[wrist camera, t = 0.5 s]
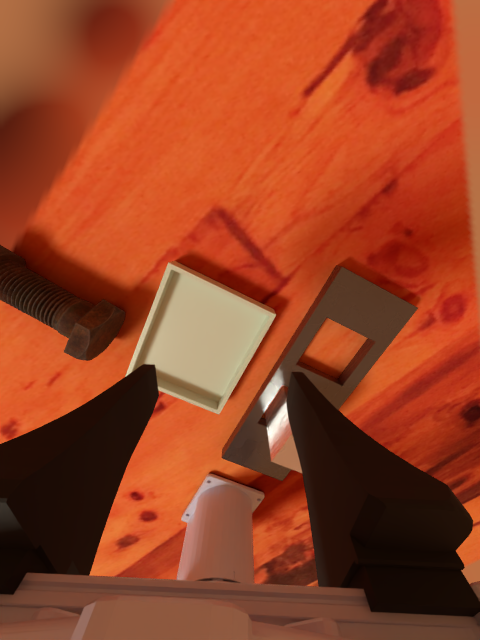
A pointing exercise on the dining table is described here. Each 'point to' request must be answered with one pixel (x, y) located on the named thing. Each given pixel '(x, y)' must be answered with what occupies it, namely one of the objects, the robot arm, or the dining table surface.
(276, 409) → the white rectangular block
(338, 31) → the dining table surface
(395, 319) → the metal plate with holes
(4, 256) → the bolt
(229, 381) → the tray
